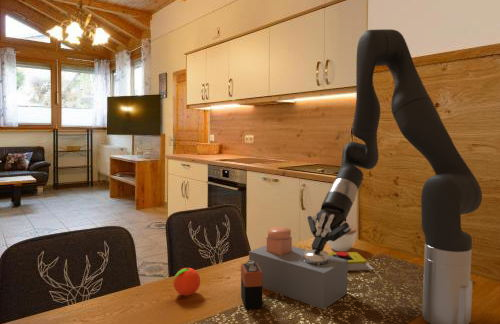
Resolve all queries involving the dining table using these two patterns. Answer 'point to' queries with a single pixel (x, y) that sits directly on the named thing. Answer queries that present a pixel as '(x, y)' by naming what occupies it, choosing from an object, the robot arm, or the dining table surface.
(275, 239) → the orange canister
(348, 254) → the emergency button
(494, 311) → the dining table surface
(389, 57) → the robot arm
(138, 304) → the dining table surface
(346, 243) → the lidded jar
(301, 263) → the console
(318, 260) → the silver jar
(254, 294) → the battery
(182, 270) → the clementine
